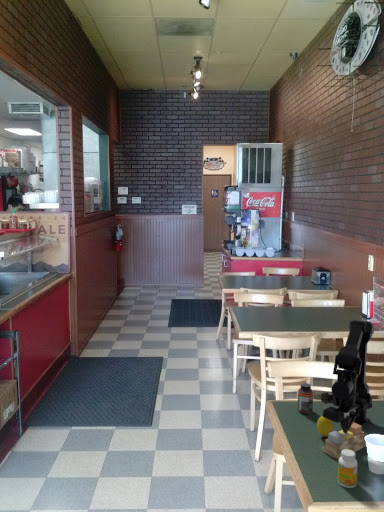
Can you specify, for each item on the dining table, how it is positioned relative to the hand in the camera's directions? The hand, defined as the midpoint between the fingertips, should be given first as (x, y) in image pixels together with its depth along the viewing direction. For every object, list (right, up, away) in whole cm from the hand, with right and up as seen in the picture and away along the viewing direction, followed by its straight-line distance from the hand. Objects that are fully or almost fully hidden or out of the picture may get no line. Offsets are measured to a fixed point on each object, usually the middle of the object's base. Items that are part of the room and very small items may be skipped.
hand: (345, 432), depth 161 cm
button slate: (-4, -3, -3) cm, 6 cm away
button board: (0, -6, 0) cm, 6 cm away
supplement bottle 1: (-6, -3, +30) cm, 31 cm away
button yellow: (0, -4, 0) cm, 4 cm away
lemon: (-5, -5, +9) cm, 11 cm away
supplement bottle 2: (-6, -8, -20) cm, 22 cm away
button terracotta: (+4, -3, +3) cm, 6 cm away
